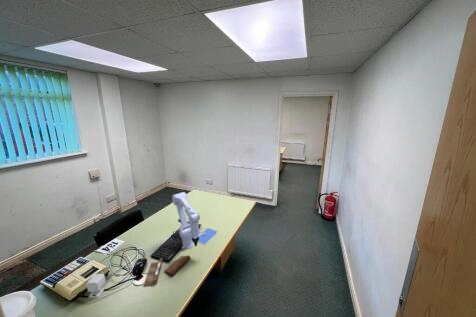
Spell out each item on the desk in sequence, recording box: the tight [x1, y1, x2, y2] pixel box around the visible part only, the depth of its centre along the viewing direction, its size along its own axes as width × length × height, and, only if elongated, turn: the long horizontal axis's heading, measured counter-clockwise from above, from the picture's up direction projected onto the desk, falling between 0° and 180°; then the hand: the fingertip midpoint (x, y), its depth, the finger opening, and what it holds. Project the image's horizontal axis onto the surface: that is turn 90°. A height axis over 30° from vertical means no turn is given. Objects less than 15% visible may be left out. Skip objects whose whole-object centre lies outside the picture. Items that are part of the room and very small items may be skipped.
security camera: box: [85, 273, 107, 299], centre depth 110 cm, size 6×7×10 cm
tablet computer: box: [197, 227, 219, 246], centre depth 161 cm, size 19×13×1 cm, turn 151°
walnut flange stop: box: [143, 258, 164, 287], centre depth 123 cm, size 18×8×4 cm, turn 10°
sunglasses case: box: [163, 255, 191, 278], centre depth 130 cm, size 18×7×7 cm
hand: (196, 245), depth 136 cm, fingers closed
